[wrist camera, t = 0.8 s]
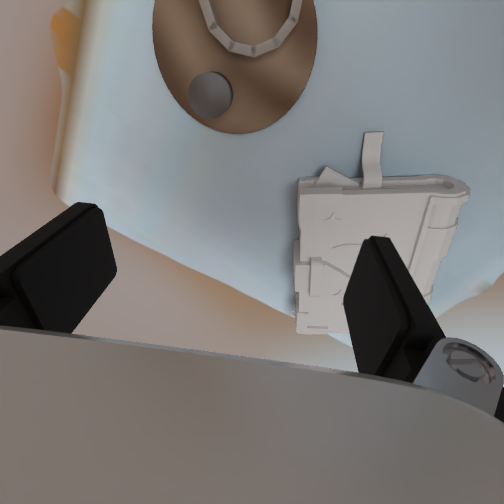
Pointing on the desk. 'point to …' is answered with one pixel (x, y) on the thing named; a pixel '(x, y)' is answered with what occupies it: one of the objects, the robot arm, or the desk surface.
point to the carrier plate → (235, 58)
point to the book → (367, 232)
